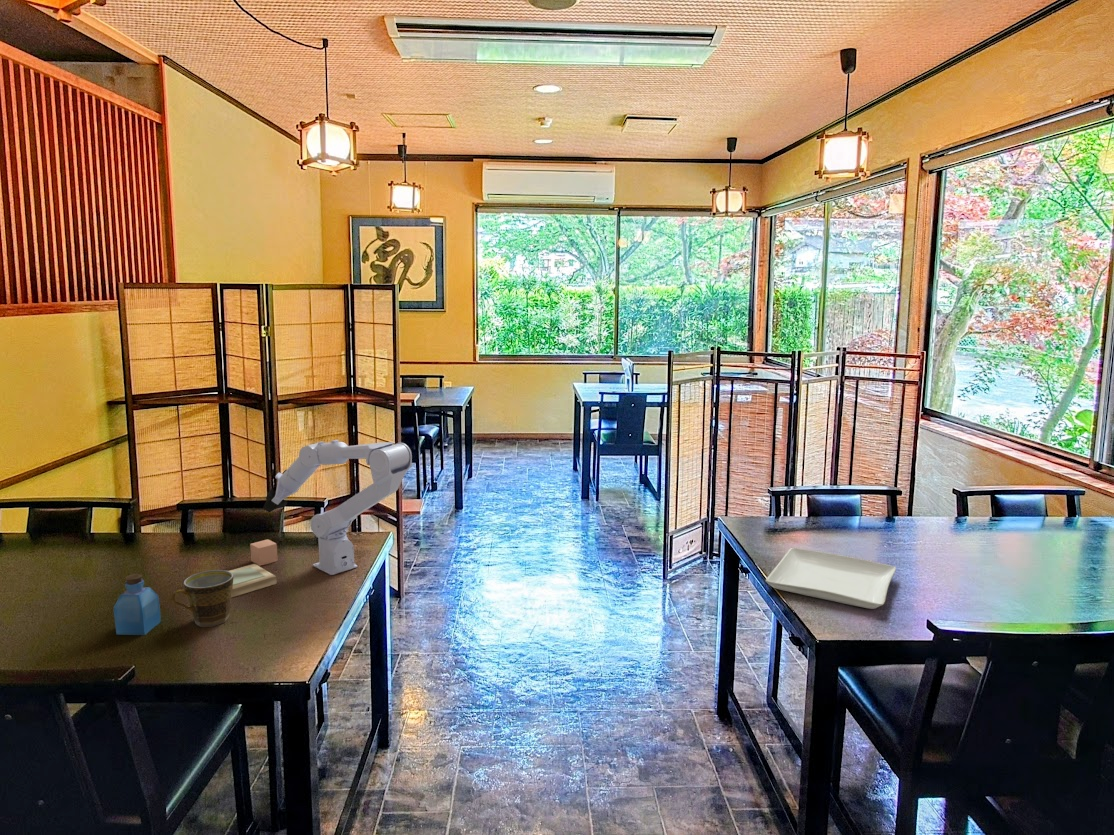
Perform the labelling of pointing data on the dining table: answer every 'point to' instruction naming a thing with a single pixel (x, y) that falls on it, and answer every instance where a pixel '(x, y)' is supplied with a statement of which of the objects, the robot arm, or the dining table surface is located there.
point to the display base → (250, 579)
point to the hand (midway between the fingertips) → (272, 500)
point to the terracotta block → (263, 552)
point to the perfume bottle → (136, 608)
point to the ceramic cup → (208, 596)
